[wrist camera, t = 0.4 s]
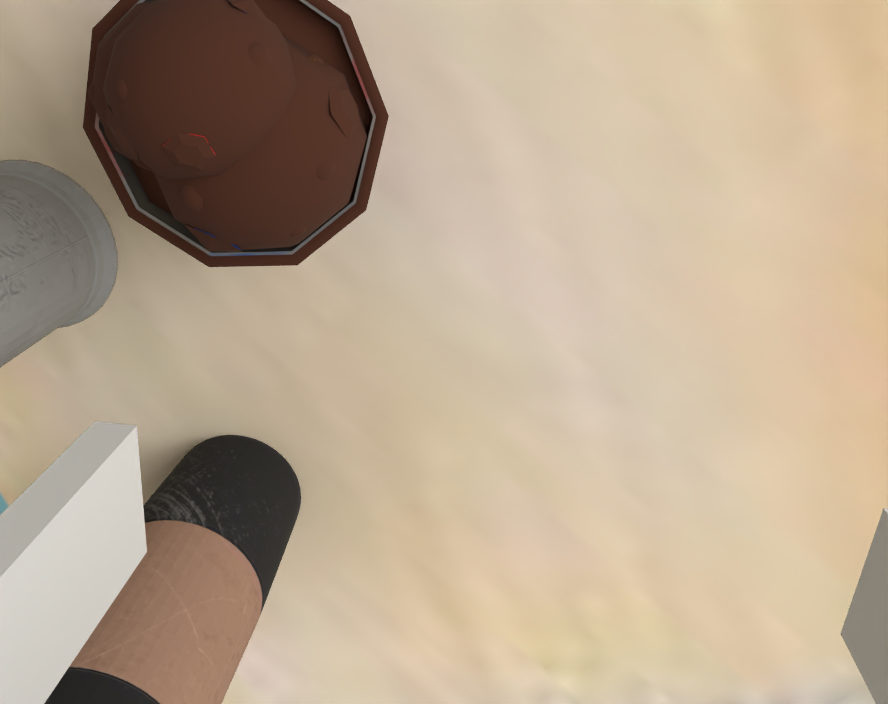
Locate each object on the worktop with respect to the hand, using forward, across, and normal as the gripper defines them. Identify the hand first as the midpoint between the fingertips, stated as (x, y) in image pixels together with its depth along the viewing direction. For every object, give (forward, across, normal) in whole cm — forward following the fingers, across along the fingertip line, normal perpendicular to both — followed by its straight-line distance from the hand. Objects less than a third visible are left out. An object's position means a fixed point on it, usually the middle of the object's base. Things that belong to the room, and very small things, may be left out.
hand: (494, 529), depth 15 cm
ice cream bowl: (+27, -10, +4) cm, 29 cm away
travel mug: (+26, -13, -18) cm, 35 cm away
